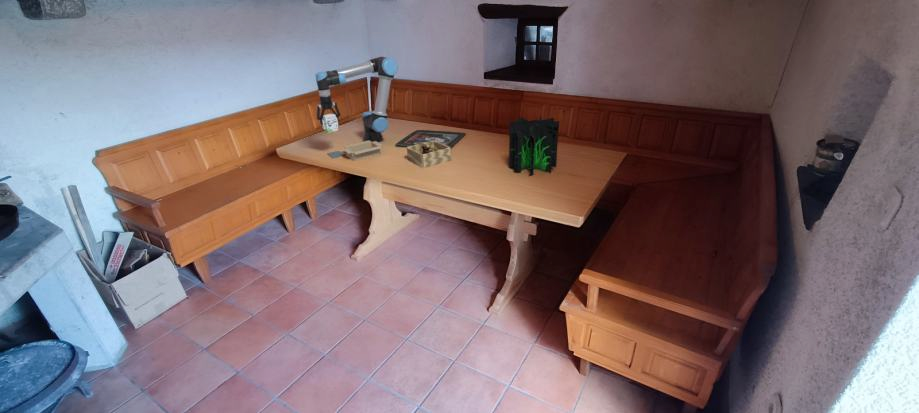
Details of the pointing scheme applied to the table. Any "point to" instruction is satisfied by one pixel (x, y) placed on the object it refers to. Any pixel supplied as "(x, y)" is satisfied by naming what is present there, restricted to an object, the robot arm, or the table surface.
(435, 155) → the box
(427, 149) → the bear figurine
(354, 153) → the carton
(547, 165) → the decorative plant
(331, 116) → the ink box
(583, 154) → the table surface
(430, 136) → the religious icon
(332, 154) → the mat
